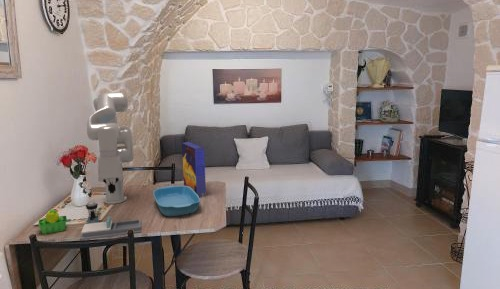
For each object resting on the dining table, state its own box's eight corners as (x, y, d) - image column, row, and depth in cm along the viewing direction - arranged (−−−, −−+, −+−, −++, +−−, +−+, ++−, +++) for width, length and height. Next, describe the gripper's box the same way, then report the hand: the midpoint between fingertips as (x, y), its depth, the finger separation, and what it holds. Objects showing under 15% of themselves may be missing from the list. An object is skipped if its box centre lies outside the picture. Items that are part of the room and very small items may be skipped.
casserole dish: (205, 215, 180) (204, 201, 179) (161, 222, 171) (160, 208, 170) (188, 194, 213) (188, 183, 212) (151, 199, 205) (150, 187, 204)
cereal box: (184, 188, 224) (181, 142, 219) (192, 187, 227) (191, 141, 222) (196, 198, 206) (194, 148, 200) (205, 196, 209) (204, 147, 203)
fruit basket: (67, 225, 169) (65, 202, 167) (67, 231, 161) (65, 208, 159) (40, 229, 164) (37, 207, 162) (39, 237, 156) (36, 213, 154)
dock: (85, 228, 165) (84, 224, 164) (141, 221, 172) (141, 217, 171) (79, 240, 153) (79, 235, 152) (141, 232, 159) (140, 228, 159)
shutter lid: (84, 225, 163) (84, 217, 162) (112, 222, 166) (111, 214, 165) (81, 233, 154) (80, 225, 153) (110, 230, 157) (109, 222, 157)
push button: (102, 219, 176) (100, 200, 174) (102, 223, 171) (100, 203, 169) (87, 221, 173) (85, 202, 171) (87, 225, 168) (85, 205, 166)
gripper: (126, 150, 162) (129, 188, 165) (91, 152, 158) (95, 191, 161) (126, 154, 155) (129, 193, 158) (89, 156, 150) (93, 196, 154)
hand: (112, 192), depth 160 cm, fingers closed
